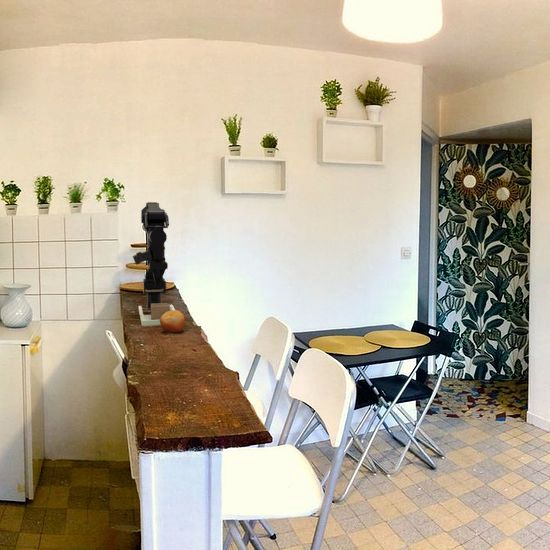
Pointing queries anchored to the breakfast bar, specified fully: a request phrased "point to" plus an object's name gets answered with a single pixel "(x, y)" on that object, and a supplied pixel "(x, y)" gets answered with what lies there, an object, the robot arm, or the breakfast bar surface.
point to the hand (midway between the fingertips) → (157, 286)
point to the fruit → (172, 321)
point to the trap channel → (147, 318)
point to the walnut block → (159, 310)
